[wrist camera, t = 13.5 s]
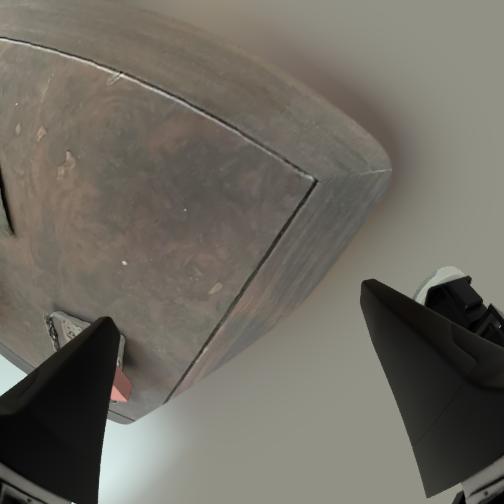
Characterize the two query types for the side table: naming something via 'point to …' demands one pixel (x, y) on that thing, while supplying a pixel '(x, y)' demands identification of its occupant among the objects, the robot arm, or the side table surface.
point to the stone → (4, 219)
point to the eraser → (121, 386)
